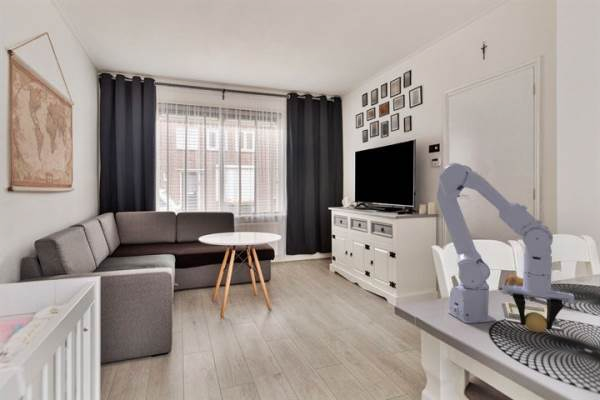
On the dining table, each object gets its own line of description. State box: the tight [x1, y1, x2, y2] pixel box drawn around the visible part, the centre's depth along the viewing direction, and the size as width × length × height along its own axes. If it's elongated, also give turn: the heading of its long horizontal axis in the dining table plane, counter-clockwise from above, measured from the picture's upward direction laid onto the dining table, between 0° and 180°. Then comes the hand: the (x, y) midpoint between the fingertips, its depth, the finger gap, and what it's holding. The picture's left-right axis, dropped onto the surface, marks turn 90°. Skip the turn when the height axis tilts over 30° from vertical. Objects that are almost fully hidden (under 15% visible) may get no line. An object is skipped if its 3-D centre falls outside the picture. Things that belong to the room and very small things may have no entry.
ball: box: [524, 312, 547, 333], centre depth 81 cm, size 5×5×5 cm
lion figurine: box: [498, 274, 536, 302], centre depth 108 cm, size 15×5×9 cm, turn 35°
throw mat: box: [501, 301, 563, 332], centre depth 91 cm, size 16×12×1 cm
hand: (535, 325), depth 81 cm, fingers closed on ball, 5 cm apart
